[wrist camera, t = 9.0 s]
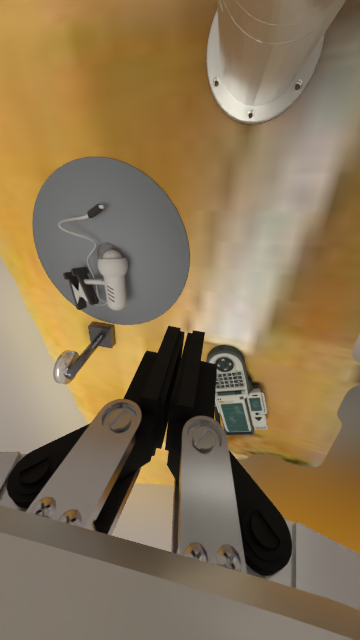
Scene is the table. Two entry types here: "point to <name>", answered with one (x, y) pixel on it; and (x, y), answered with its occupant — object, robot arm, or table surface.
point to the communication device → (236, 394)
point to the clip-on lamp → (108, 266)
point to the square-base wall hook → (73, 362)
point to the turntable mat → (113, 235)
